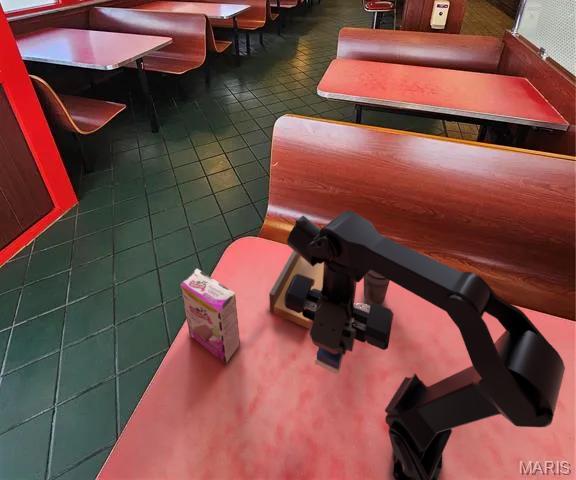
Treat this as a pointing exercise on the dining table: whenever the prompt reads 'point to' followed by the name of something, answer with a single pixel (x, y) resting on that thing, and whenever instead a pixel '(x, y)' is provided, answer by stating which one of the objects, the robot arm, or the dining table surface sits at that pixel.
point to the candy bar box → (211, 314)
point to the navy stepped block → (329, 360)
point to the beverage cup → (375, 288)
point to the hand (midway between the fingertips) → (334, 338)
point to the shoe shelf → (281, 285)
